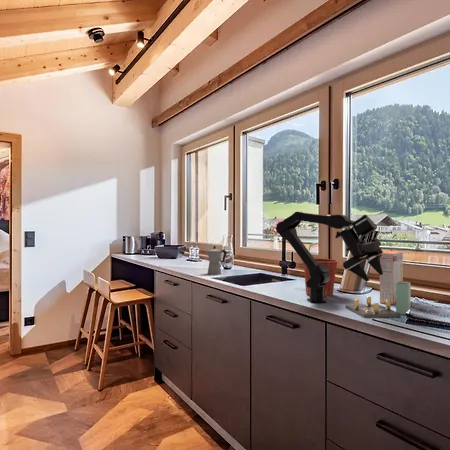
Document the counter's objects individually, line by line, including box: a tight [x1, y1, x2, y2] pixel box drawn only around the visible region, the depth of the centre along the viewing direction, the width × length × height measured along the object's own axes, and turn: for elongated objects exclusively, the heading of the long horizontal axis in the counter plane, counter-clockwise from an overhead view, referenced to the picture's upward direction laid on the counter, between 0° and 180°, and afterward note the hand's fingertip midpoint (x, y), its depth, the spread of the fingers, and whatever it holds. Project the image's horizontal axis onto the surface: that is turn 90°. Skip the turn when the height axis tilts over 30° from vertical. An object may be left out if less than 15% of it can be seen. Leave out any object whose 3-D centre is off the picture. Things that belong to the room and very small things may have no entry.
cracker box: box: [379, 250, 404, 305], centre depth 157 cm, size 14×6×21 cm, turn 140°
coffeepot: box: [205, 245, 228, 276], centre depth 241 cm, size 15×9×18 cm, turn 118°
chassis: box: [344, 296, 401, 319], centre depth 137 cm, size 15×14×5 cm
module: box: [395, 280, 412, 315], centre depth 136 cm, size 4×5×11 cm
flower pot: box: [302, 257, 339, 298], centre depth 171 cm, size 16×16×16 cm
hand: (375, 277), depth 141 cm, fingers open, 9 cm apart
